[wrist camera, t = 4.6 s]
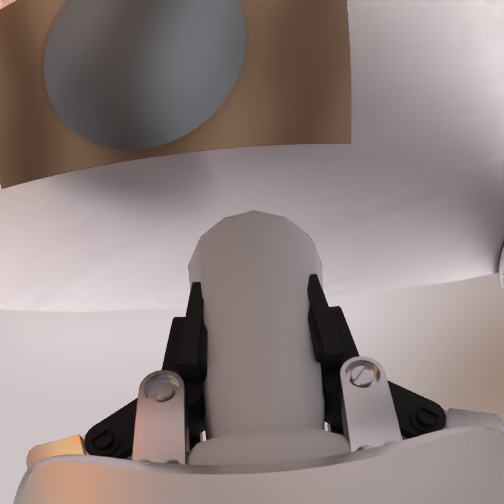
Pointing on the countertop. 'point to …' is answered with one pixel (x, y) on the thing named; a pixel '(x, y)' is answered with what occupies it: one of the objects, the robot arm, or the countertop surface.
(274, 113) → the walnut stand
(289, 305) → the salt shaker
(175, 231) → the countertop surface
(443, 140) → the countertop surface
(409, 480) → the robot arm
